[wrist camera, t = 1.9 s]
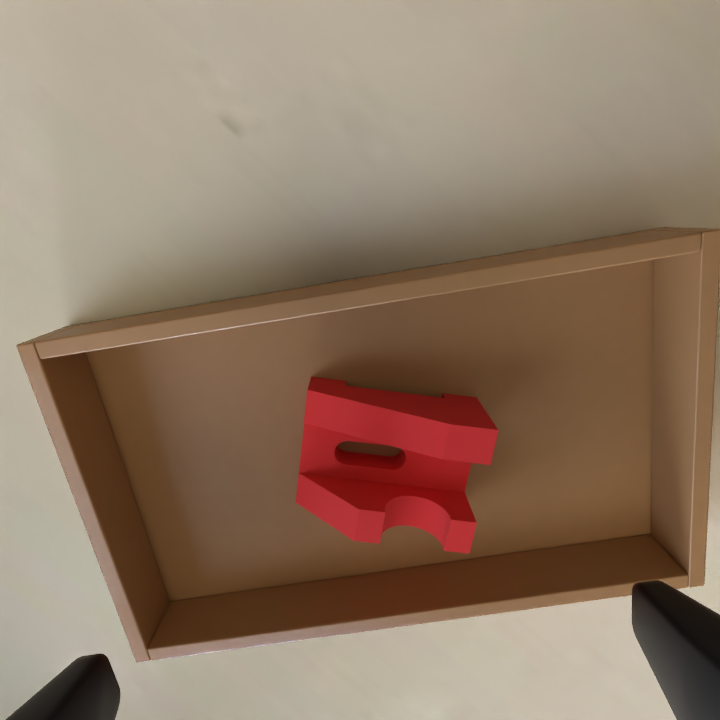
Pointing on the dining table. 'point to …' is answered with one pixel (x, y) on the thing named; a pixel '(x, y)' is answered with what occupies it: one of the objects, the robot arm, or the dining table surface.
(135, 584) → the cardboard box
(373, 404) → the bracket
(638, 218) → the dining table surface
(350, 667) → the dining table surface
